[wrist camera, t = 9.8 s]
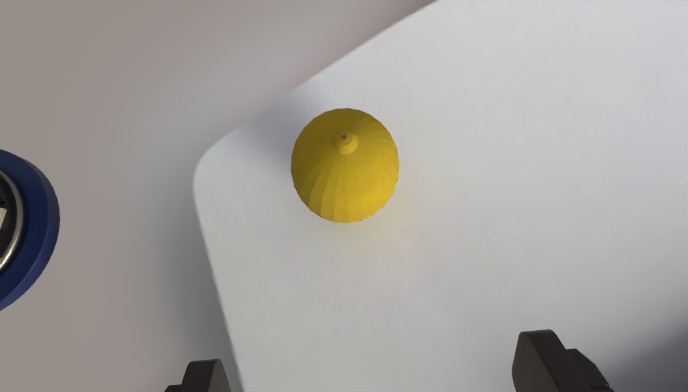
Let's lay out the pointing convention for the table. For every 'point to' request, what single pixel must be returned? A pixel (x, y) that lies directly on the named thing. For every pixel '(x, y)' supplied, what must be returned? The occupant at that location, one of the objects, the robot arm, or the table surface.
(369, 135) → the lemon
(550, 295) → the table surface
